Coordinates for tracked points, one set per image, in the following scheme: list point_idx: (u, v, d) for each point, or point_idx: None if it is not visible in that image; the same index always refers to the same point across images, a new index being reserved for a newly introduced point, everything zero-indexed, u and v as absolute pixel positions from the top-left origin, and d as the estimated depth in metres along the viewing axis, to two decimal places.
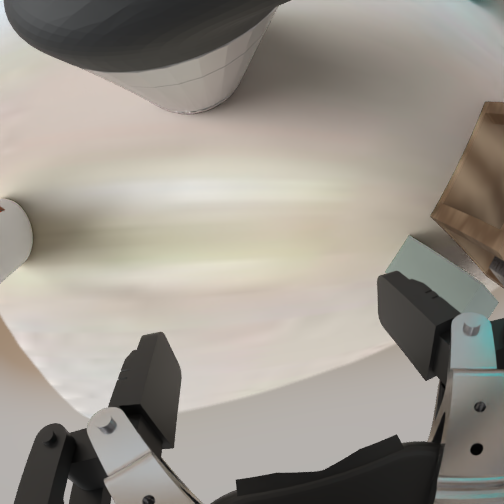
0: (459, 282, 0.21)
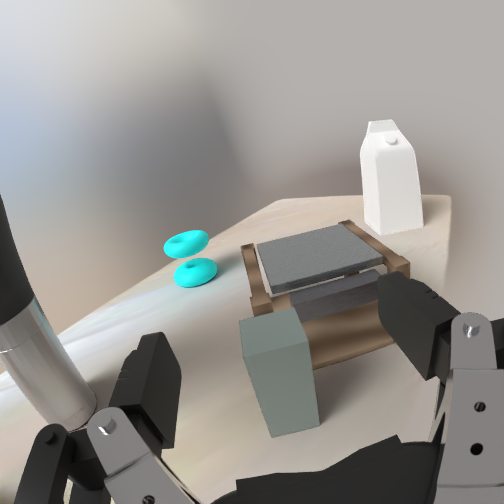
0: None
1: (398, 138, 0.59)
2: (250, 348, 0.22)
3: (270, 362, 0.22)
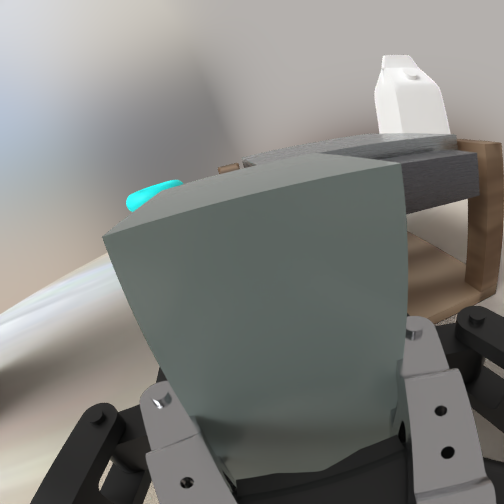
0: None
1: (419, 74, 0.42)
2: (148, 214, 0.05)
3: (235, 275, 0.05)
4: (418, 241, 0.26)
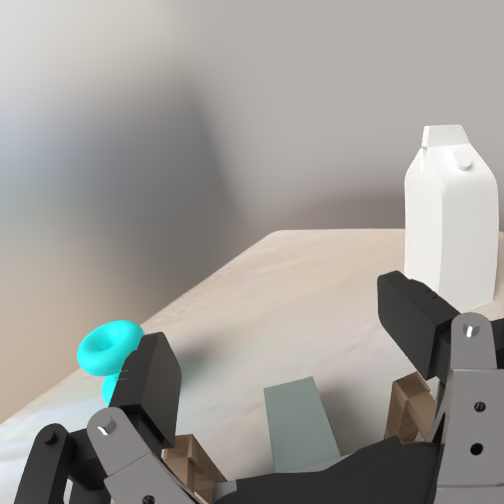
0: None
1: (472, 158, 0.30)
2: None
3: (283, 391, 0.26)
4: None
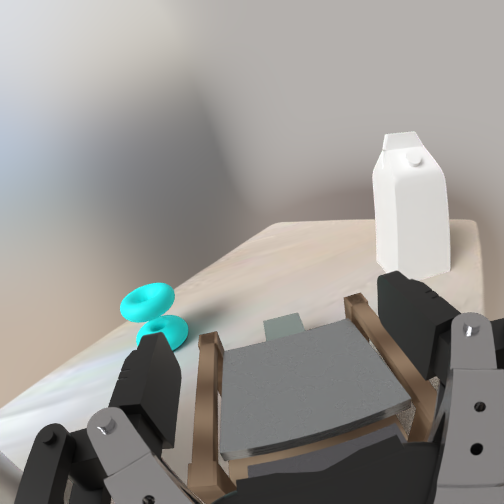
0: None
1: (423, 157, 0.43)
2: None
3: (277, 321, 0.40)
4: None
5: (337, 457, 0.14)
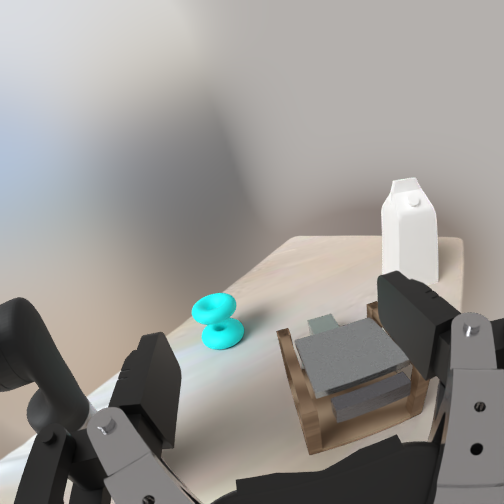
0: None
1: (421, 198, 0.60)
2: None
3: (318, 320, 0.57)
4: None
5: (376, 388, 0.31)
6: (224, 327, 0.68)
